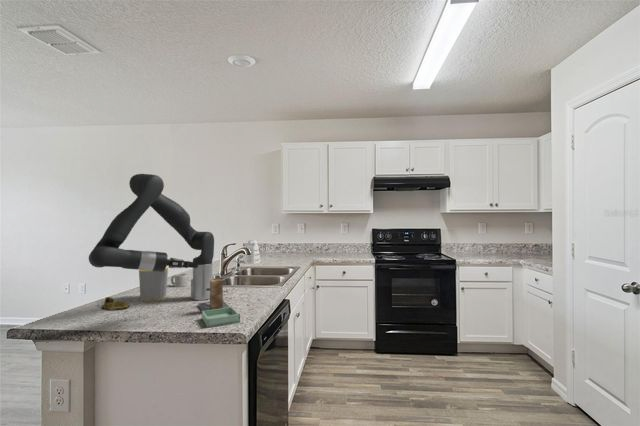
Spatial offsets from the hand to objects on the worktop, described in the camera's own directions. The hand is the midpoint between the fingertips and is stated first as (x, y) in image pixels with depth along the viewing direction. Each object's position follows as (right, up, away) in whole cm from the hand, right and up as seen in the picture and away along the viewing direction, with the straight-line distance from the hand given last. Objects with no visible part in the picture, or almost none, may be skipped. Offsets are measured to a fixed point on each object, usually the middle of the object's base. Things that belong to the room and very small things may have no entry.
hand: (194, 264), depth 133 cm
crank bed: (+6, -21, +8) cm, 23 cm away
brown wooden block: (+8, -20, +5) cm, 22 cm away
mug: (-31, -22, +56) cm, 68 cm away
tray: (+14, -20, -9) cm, 26 cm away
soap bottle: (-31, -21, +27) cm, 46 cm away
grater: (-8, -23, +153) cm, 155 cm away
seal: (-40, -21, +10) cm, 46 cm away
